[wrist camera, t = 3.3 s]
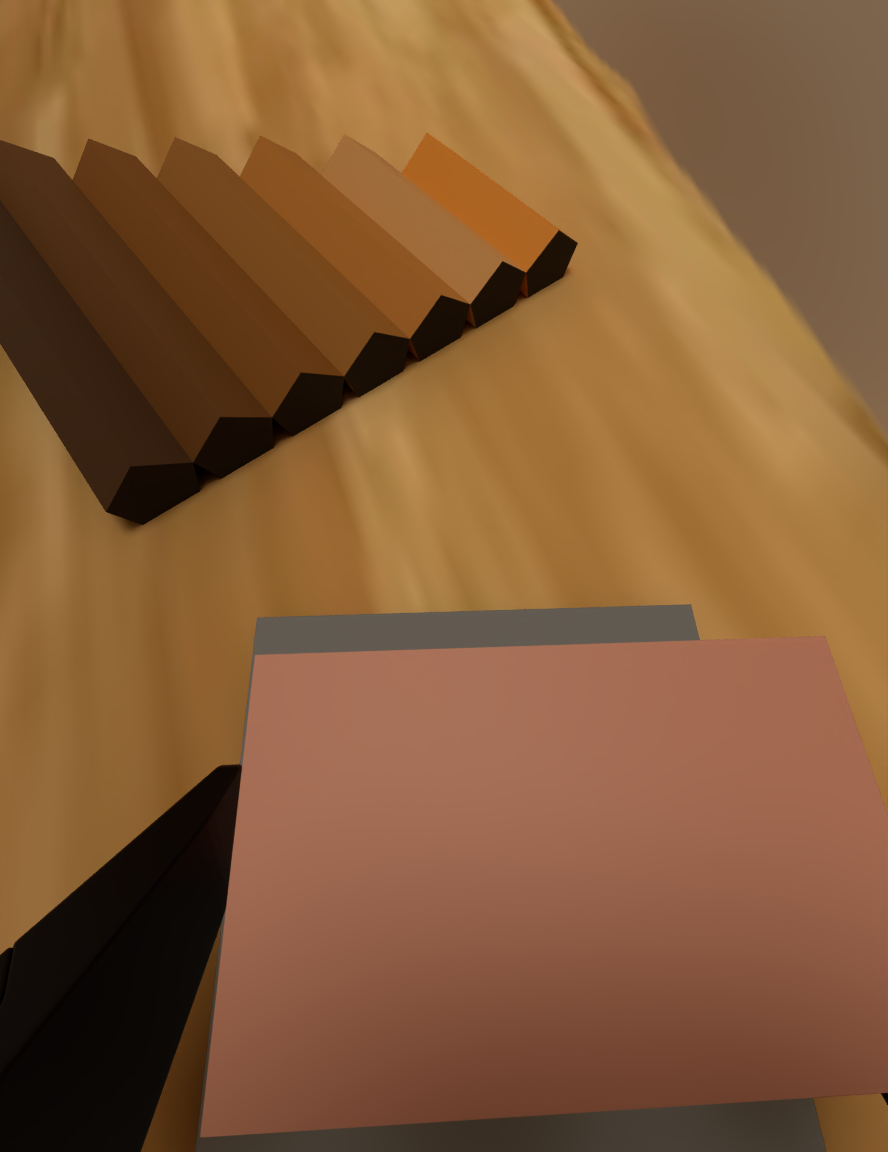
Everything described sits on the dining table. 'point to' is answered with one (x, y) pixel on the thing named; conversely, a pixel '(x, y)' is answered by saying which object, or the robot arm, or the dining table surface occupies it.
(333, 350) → the pan flute
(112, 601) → the dining table surface
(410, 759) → the tall box
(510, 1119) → the mat
